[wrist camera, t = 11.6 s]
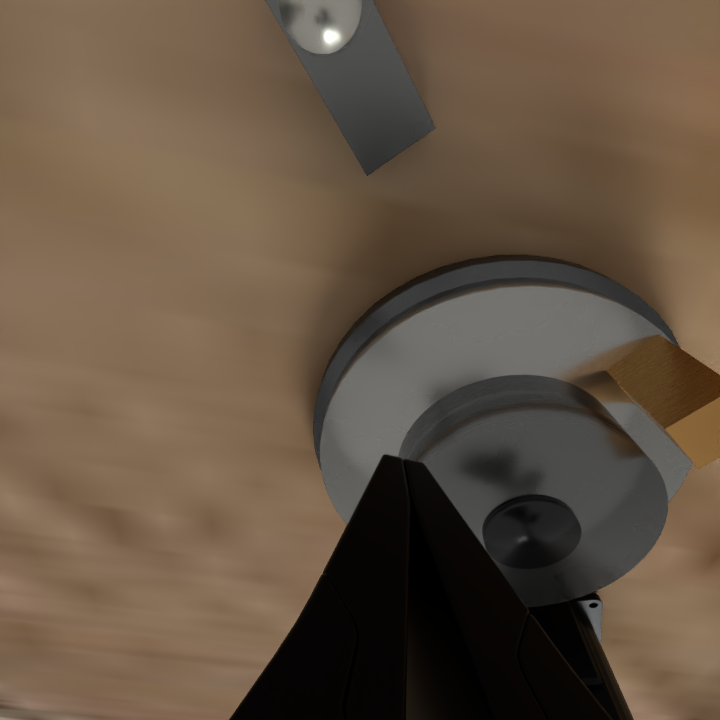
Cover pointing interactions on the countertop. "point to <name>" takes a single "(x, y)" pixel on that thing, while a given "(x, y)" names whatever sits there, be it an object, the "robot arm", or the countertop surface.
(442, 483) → the cover
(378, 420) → the platter
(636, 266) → the countertop surface
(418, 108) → the grey bar
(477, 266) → the turntable base
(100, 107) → the countertop surface
